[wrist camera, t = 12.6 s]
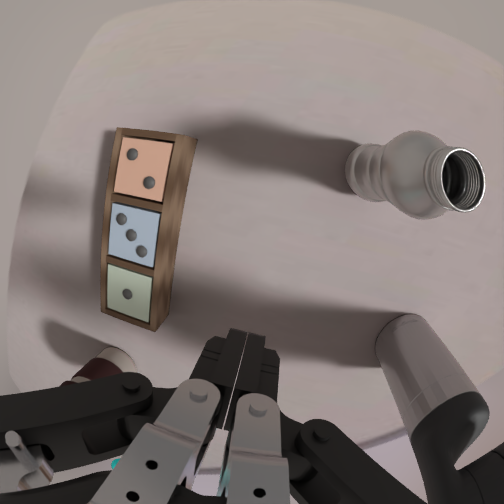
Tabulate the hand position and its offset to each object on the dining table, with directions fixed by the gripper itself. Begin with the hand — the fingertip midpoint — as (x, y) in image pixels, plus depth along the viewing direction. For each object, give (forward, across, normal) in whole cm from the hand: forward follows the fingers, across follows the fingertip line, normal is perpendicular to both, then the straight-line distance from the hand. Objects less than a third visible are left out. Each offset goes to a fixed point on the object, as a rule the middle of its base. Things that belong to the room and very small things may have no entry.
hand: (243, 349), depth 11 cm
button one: (+22, +16, +10) cm, 29 cm away
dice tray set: (+23, +16, +2) cm, 28 cm away
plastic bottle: (+24, -9, -10) cm, 28 cm away
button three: (+22, +16, +2) cm, 27 cm away
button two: (+21, +16, -6) cm, 27 cm away
